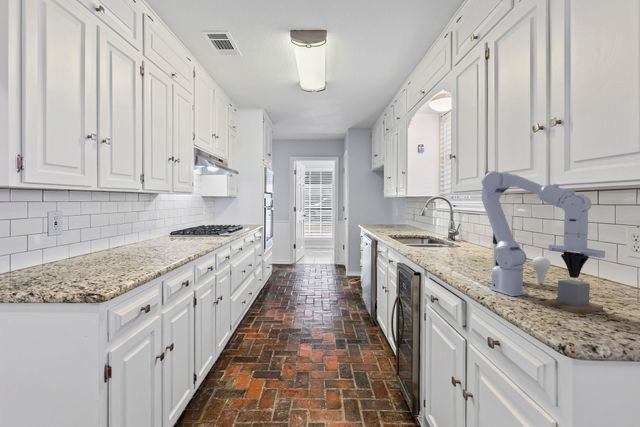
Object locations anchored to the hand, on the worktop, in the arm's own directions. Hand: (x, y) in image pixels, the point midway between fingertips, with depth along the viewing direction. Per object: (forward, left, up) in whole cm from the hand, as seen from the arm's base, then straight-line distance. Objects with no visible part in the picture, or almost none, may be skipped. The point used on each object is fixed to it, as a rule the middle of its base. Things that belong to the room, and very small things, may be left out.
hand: (574, 277), depth 98 cm
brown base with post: (0, 0, -9) cm, 9 cm away
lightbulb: (-22, +18, -10) cm, 30 cm away
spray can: (-34, +11, -10) cm, 37 cm away
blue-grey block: (0, 0, -8) cm, 8 cm away
